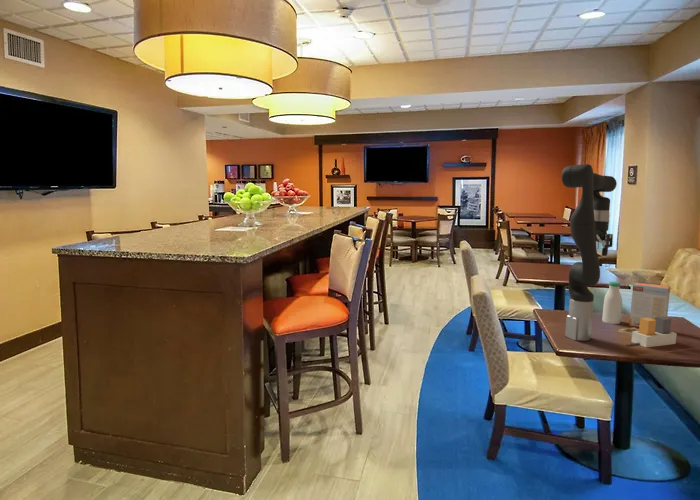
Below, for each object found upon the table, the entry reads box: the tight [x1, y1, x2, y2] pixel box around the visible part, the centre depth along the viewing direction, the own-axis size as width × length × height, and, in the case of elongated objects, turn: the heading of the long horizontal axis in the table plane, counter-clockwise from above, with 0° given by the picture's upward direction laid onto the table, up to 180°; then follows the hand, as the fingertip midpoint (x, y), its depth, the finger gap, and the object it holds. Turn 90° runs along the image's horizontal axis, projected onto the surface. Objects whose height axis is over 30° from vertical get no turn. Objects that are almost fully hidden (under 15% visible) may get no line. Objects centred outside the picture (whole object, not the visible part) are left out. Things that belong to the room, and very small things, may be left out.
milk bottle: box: [601, 281, 623, 325], centre depth 227 cm, size 8×8×20 cm
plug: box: [638, 318, 656, 336], centre depth 197 cm, size 4×4×10 cm
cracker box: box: [628, 282, 671, 329], centre depth 218 cm, size 14×6×21 cm, turn 47°
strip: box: [625, 316, 677, 348], centre depth 197 cm, size 22×7×11 cm, turn 106°
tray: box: [618, 327, 639, 338], centre depth 210 cm, size 9×9×2 cm
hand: (597, 254), depth 220 cm, fingers open, 8 cm apart
